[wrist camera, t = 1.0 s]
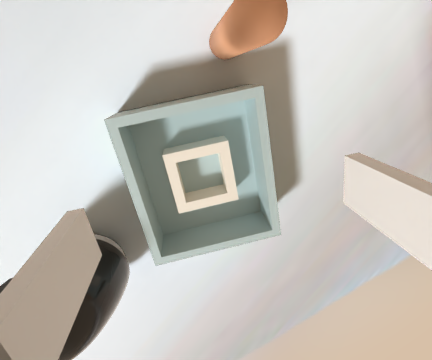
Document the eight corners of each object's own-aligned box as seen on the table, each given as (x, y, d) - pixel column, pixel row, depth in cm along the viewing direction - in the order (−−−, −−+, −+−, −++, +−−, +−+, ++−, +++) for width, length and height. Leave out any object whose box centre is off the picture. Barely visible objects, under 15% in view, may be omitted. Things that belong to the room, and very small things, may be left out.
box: (117, 112, 31) (104, 119, 26) (248, 84, 32) (263, 85, 26) (158, 238, 38) (155, 265, 32) (266, 212, 39) (281, 234, 33)
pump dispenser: (117, 212, 36) (78, 299, 22) (143, 271, 40) (124, 378, 25) (43, 233, 35) (-47, 335, 21) (76, 290, 39) (20, 409, 25)
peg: (206, 27, 29) (228, -14, 16) (237, 21, 29) (284, -25, 16) (212, 62, 31) (238, 50, 18) (242, 56, 31) (289, 39, 18)
